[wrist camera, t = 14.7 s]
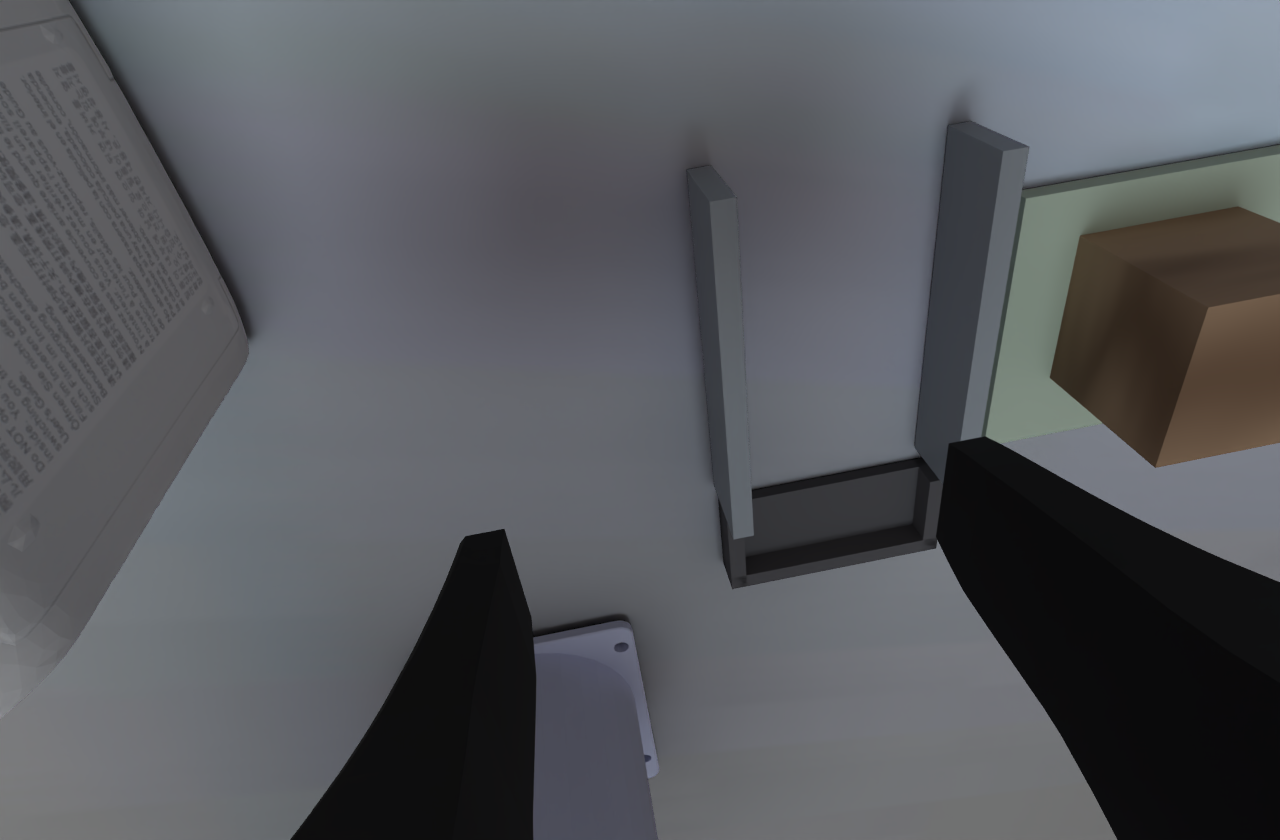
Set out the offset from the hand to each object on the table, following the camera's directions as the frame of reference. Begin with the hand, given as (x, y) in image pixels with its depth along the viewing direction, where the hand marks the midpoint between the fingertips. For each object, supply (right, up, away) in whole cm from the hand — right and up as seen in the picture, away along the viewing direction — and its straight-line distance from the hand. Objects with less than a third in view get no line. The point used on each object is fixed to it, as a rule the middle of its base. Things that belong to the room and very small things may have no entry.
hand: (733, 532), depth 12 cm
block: (+13, +5, +9) cm, 17 cm away
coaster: (+13, +5, +10) cm, 17 cm away
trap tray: (+5, -1, +13) cm, 14 cm away
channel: (+4, +4, +9) cm, 11 cm away
